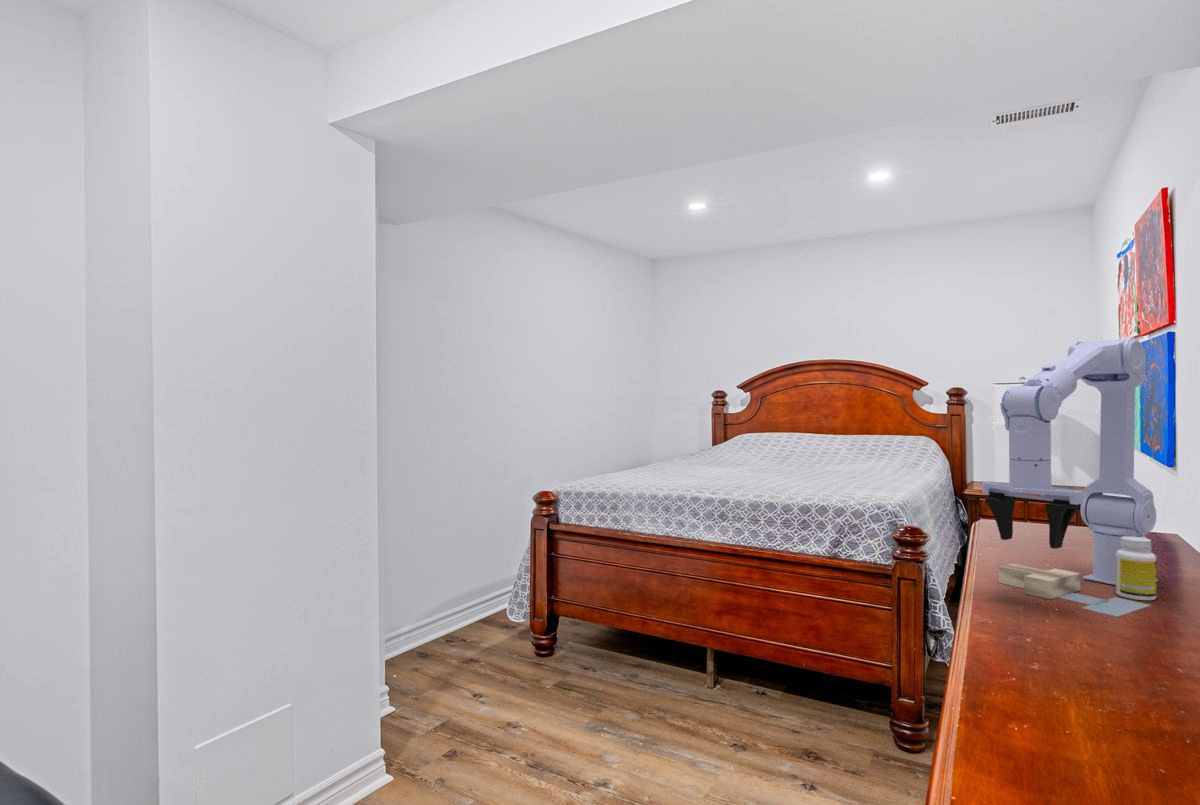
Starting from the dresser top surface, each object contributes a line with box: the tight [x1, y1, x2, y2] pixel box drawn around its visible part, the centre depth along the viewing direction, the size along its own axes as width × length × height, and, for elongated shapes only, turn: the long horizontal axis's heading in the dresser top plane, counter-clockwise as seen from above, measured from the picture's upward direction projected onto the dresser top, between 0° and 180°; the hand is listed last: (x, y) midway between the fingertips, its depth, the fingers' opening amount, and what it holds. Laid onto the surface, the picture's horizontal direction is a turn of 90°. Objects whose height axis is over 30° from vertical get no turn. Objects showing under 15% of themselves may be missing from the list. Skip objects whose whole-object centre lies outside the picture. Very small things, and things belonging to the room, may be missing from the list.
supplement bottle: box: [1115, 536, 1158, 601], centre depth 113 cm, size 5×5×10 cm
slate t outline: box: [1057, 592, 1152, 618], centre depth 110 cm, size 11×11×1 cm
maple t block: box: [998, 563, 1081, 600], centre depth 118 cm, size 10×10×3 cm
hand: (1030, 543), depth 109 cm, fingers open, 7 cm apart
